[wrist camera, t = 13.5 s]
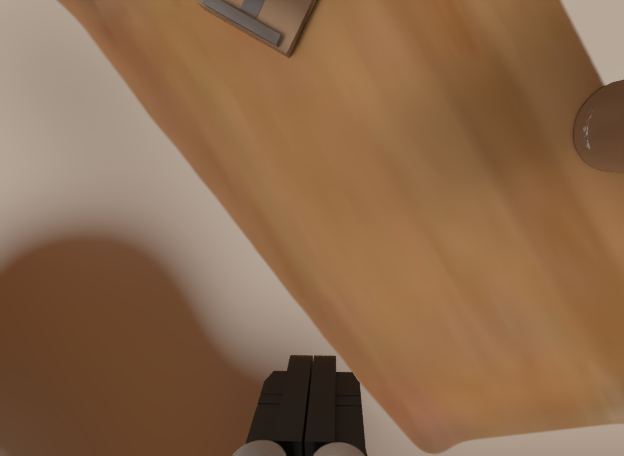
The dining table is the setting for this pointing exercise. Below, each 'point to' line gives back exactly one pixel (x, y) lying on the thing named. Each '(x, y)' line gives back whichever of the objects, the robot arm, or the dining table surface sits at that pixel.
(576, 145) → the robot arm
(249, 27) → the brown flat rectangular board
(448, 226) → the dining table surface
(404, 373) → the dining table surface
